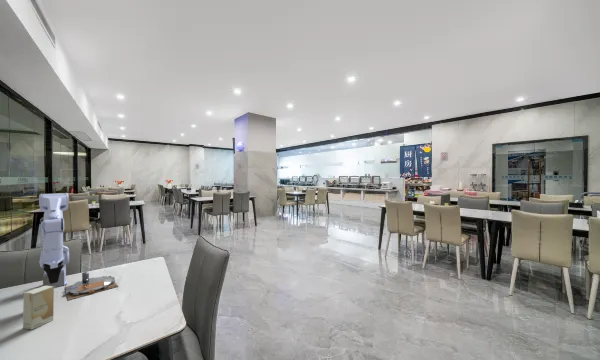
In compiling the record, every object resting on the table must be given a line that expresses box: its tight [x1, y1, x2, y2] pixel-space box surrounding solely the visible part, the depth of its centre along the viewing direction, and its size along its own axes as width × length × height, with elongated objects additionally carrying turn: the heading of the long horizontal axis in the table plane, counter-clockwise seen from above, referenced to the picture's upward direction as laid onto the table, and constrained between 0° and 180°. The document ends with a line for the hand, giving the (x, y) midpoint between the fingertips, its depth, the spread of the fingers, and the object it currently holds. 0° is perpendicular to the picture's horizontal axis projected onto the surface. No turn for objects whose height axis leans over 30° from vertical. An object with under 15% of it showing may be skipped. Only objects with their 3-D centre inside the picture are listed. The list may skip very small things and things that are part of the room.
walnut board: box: [64, 275, 119, 301], centre depth 112 cm, size 18×17×1 cm
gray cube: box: [42, 270, 65, 288], centre depth 98 cm, size 4×6×5 cm, turn 137°
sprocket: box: [65, 271, 116, 295], centre depth 112 cm, size 18×18×6 cm
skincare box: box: [22, 285, 55, 330], centre depth 84 cm, size 6×4×12 cm
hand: (53, 281), depth 98 cm, fingers closed on gray cube, 4 cm apart
